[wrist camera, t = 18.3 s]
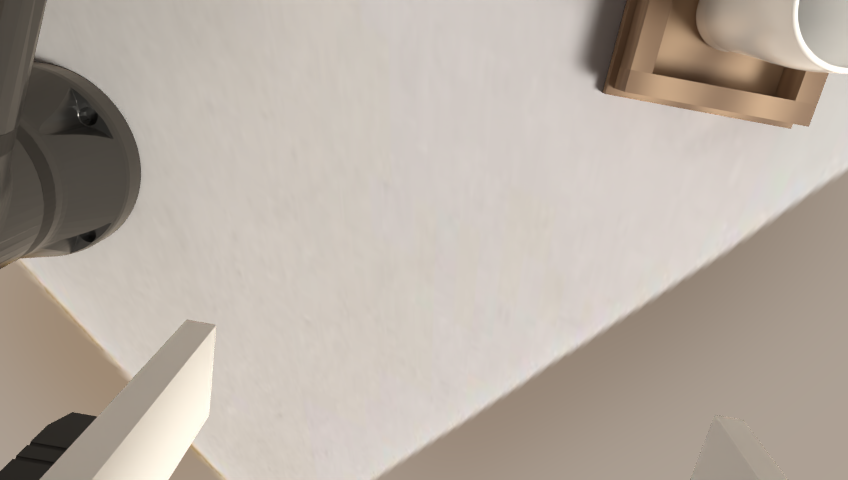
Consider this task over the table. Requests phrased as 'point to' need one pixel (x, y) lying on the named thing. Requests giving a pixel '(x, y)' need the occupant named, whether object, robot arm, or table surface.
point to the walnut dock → (703, 70)
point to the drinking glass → (779, 31)
